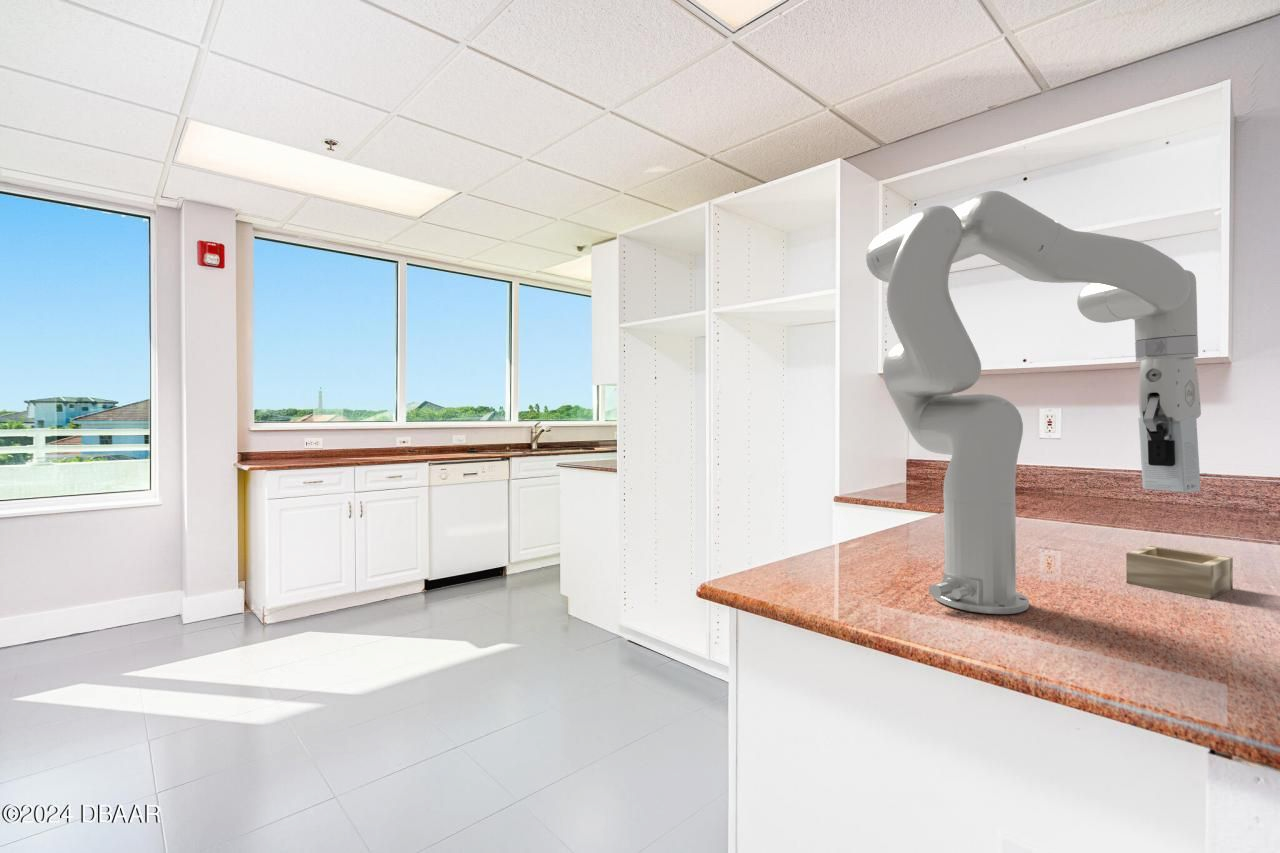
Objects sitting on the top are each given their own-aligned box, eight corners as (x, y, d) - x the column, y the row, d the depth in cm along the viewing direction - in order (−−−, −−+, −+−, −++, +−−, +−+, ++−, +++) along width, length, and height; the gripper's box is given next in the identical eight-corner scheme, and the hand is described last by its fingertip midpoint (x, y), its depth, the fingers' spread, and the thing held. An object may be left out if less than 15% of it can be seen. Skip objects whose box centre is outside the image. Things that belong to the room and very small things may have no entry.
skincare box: (1202, 491, 94) (1200, 414, 94) (1184, 493, 92) (1182, 415, 92) (1156, 487, 100) (1155, 414, 100) (1139, 489, 98) (1137, 415, 98)
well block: (1210, 599, 91) (1210, 566, 91) (1126, 582, 100) (1126, 553, 100) (1232, 588, 95) (1232, 557, 95) (1150, 574, 105) (1150, 545, 104)
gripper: (1173, 347, 88) (1177, 470, 89) (1217, 348, 97) (1220, 460, 97) (1113, 352, 95) (1116, 467, 95) (1159, 353, 103) (1162, 458, 104)
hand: (1169, 462), depth 96 cm, fingers closed on skincare box, 4 cm apart
